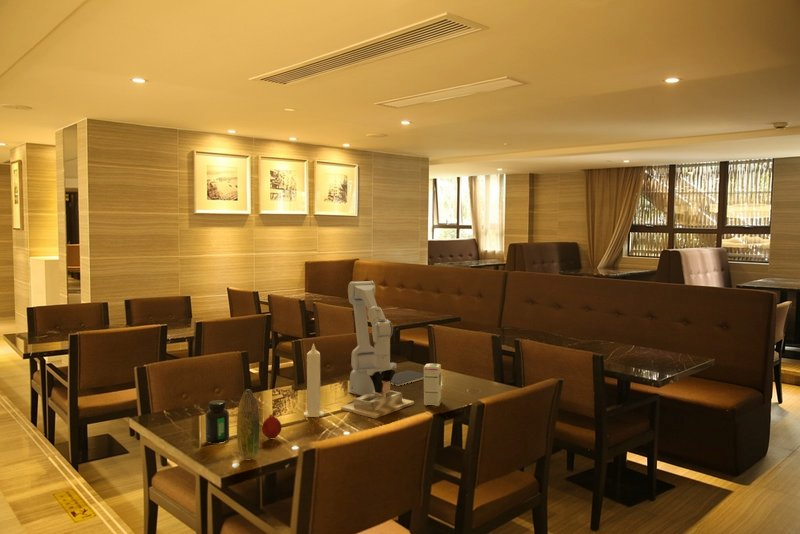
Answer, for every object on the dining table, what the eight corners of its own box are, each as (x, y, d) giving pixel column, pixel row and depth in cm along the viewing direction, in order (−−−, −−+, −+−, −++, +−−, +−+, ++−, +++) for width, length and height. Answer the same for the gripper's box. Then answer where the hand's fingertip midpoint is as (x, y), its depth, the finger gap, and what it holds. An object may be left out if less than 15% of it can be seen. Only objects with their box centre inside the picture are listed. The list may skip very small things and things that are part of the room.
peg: (372, 403, 218) (372, 381, 218) (381, 400, 222) (381, 378, 222) (383, 405, 215) (383, 383, 215) (392, 402, 219) (392, 380, 219)
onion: (263, 436, 186) (263, 411, 185) (282, 436, 186) (282, 410, 186) (260, 443, 180) (260, 417, 179) (280, 442, 180) (279, 416, 180)
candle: (327, 413, 210) (327, 342, 208) (318, 419, 203) (318, 346, 201) (309, 411, 212) (309, 341, 210) (299, 416, 205) (299, 344, 204)
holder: (375, 418, 204) (375, 406, 204) (341, 409, 214) (341, 398, 214) (414, 403, 221) (414, 393, 221) (381, 396, 231) (381, 386, 231)
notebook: (408, 373, 270) (376, 382, 254) (408, 370, 270) (376, 378, 254) (430, 378, 262) (398, 387, 246) (430, 374, 262) (398, 384, 246)
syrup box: (439, 406, 218) (439, 367, 217) (423, 405, 219) (423, 366, 218) (441, 402, 224) (441, 363, 223) (425, 401, 225) (425, 362, 224)
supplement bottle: (226, 444, 179) (226, 405, 178) (203, 445, 178) (202, 405, 178) (231, 436, 186) (230, 398, 185) (208, 437, 185) (208, 399, 184)
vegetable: (232, 460, 166) (231, 390, 165) (246, 453, 172) (245, 384, 171) (250, 464, 164) (249, 392, 162) (264, 456, 169) (263, 387, 168)
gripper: (377, 359, 210) (377, 397, 211) (403, 352, 221) (402, 388, 222) (362, 356, 214) (362, 393, 215) (388, 350, 225) (388, 385, 226)
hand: (382, 391), depth 219 cm, fingers closed on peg, 4 cm apart
